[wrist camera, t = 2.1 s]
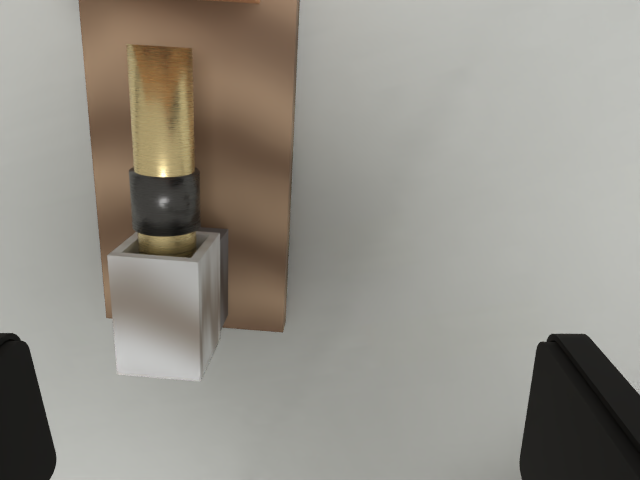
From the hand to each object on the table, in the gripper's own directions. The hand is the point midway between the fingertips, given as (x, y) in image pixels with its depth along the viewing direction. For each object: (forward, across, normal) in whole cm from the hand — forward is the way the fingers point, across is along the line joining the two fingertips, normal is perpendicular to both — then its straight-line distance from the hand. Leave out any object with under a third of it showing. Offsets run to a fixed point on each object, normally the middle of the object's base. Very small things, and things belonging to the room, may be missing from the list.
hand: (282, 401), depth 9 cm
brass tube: (+20, +8, +2) cm, 21 cm away
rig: (+24, +8, -1) cm, 25 cm away
